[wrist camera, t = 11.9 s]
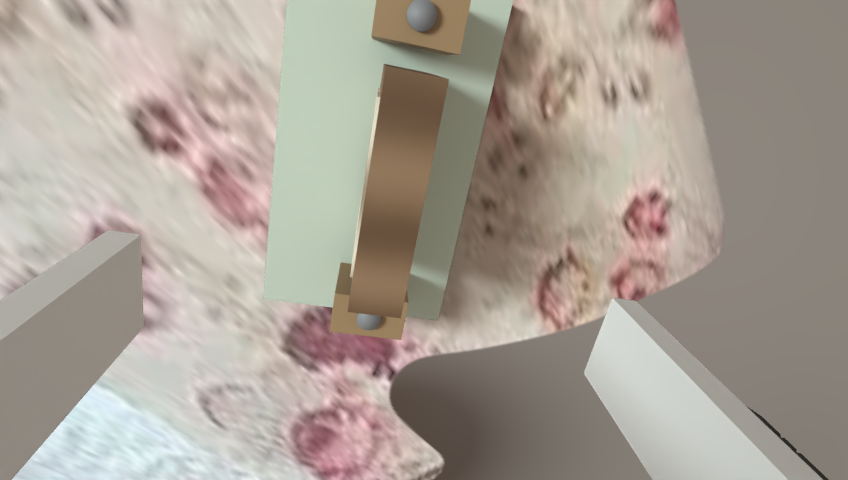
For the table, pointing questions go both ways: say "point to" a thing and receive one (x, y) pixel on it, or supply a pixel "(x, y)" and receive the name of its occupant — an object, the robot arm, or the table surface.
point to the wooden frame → (394, 188)
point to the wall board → (350, 135)
